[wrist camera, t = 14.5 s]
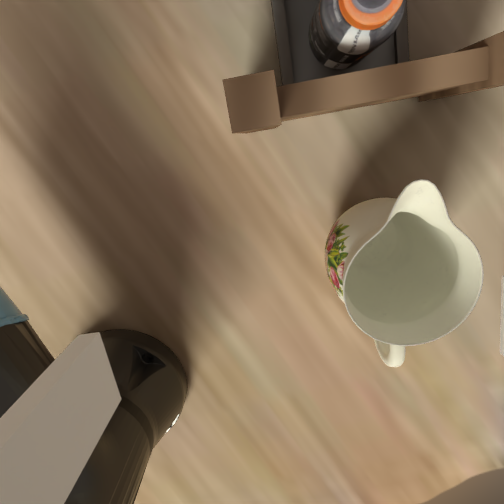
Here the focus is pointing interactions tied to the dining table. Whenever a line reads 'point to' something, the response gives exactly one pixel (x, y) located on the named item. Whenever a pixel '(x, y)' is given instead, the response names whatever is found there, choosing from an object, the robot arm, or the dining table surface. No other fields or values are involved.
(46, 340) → the dining table surface
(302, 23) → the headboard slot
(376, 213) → the pitcher
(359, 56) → the pill bottle
